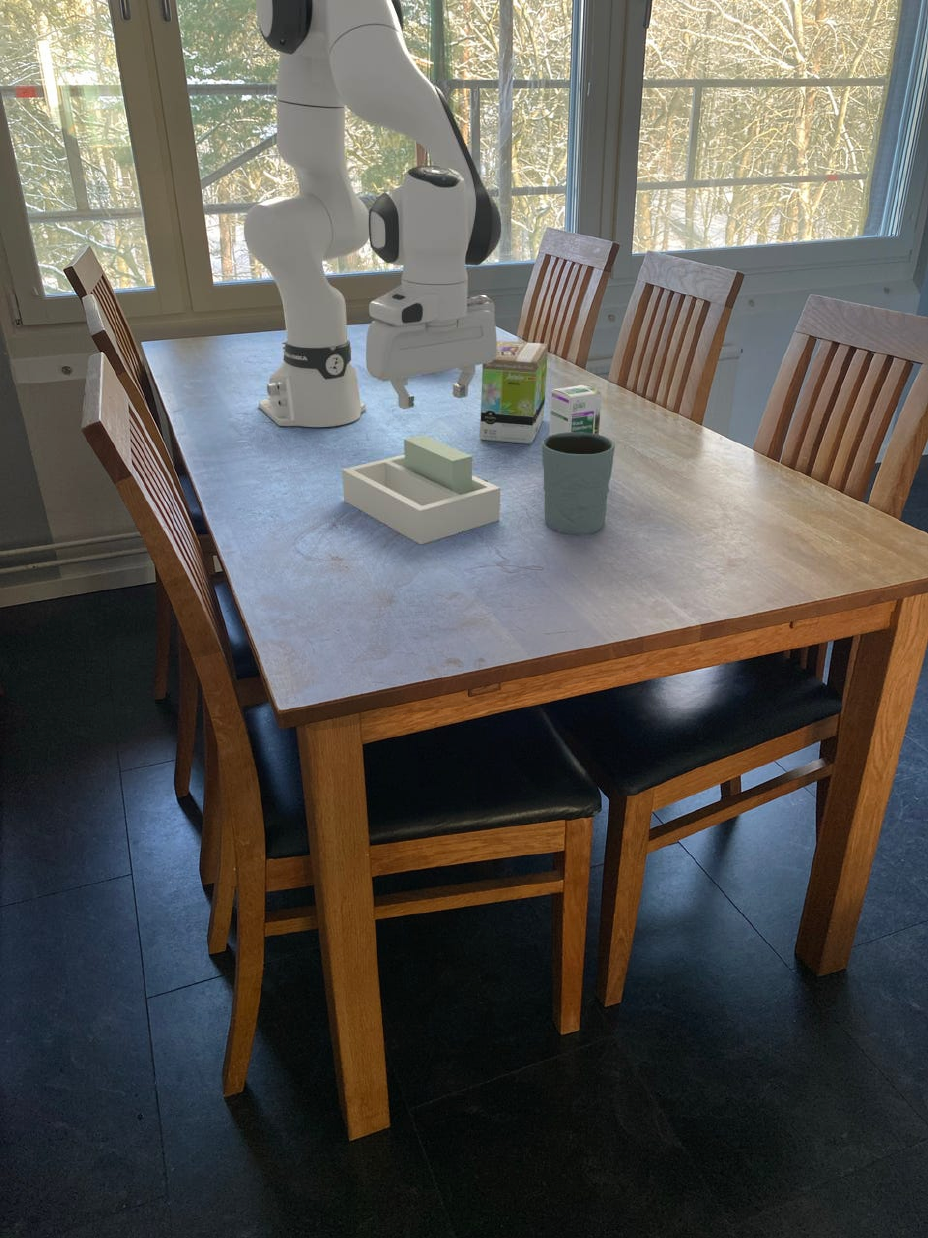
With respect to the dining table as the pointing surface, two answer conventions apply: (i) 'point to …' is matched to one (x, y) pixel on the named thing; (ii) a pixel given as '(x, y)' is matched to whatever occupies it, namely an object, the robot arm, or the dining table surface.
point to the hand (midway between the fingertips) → (433, 402)
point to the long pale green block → (439, 463)
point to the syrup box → (575, 410)
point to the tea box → (514, 392)
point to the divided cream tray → (418, 500)
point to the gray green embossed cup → (576, 481)
